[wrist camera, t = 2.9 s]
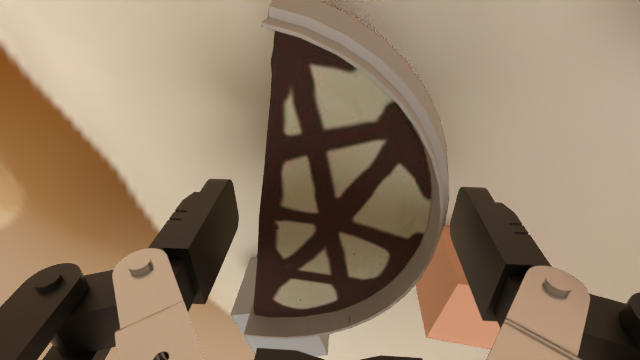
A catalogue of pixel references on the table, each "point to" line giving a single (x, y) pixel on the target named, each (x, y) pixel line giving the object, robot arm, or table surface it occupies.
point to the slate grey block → (305, 345)
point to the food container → (343, 176)
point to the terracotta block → (451, 301)
